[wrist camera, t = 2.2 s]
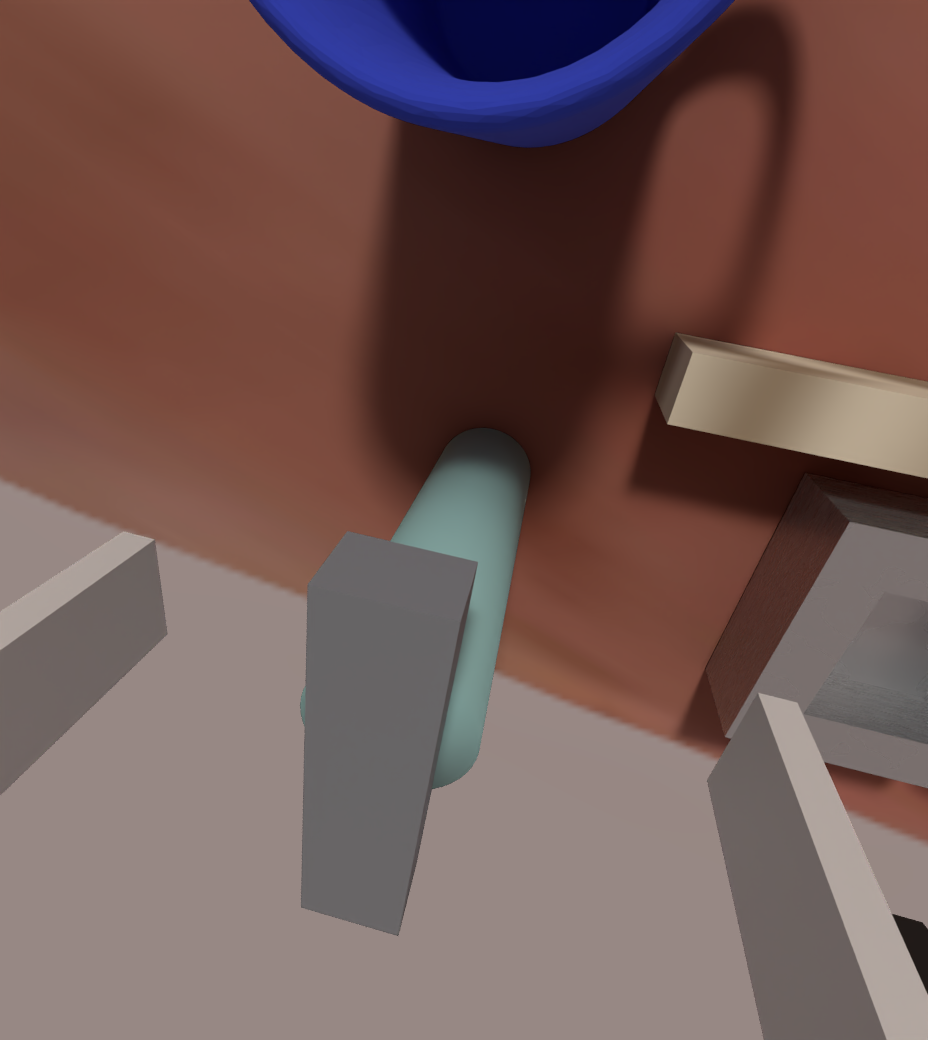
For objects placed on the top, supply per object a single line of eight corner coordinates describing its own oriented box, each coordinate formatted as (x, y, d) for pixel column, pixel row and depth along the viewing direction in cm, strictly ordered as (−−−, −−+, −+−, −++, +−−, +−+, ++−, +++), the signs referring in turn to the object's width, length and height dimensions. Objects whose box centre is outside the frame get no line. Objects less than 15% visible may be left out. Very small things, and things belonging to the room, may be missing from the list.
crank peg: (427, 551, 23) (267, 897, 11) (455, 354, 19) (255, 571, 7) (508, 570, 22) (433, 946, 11) (555, 374, 18) (515, 635, 7)
